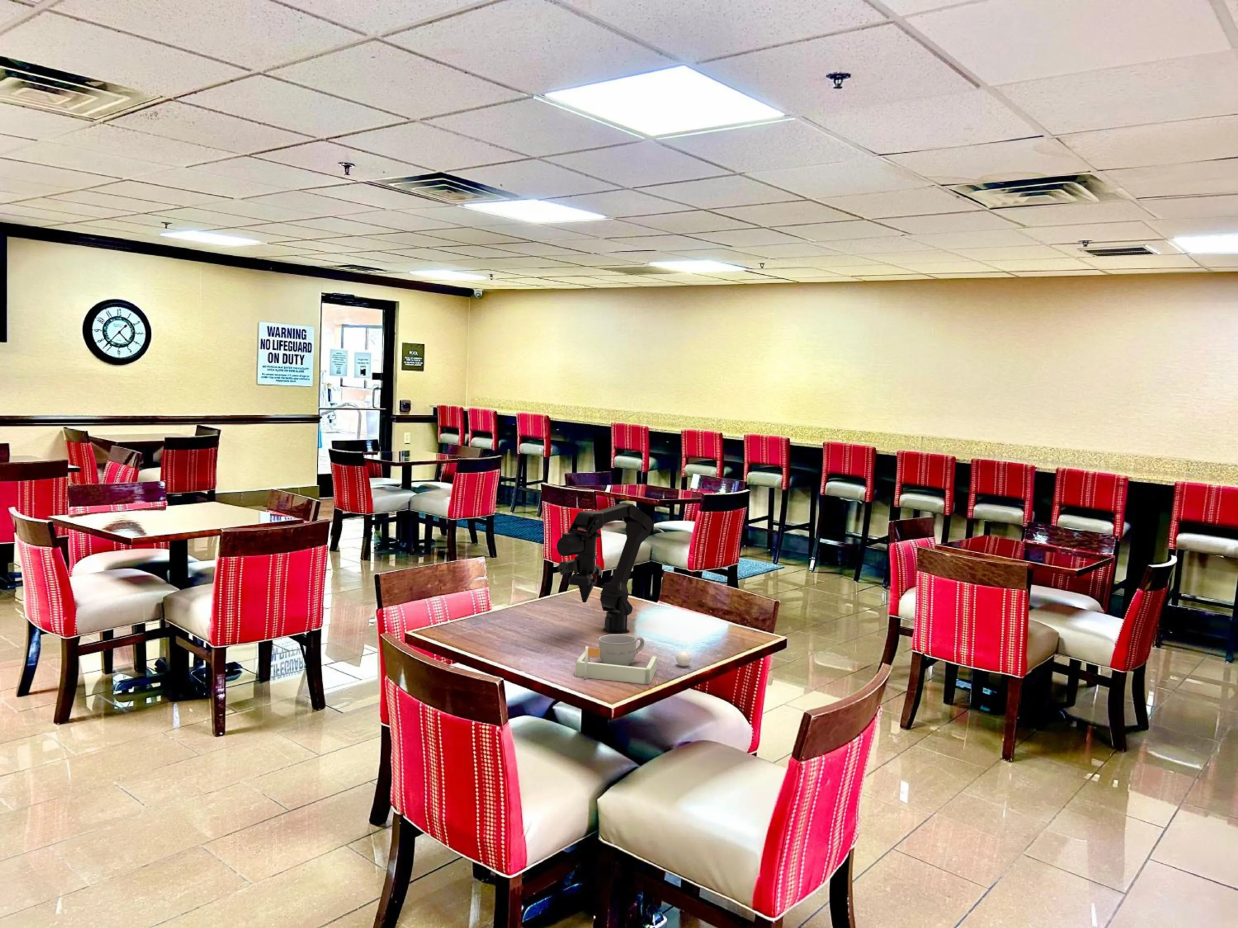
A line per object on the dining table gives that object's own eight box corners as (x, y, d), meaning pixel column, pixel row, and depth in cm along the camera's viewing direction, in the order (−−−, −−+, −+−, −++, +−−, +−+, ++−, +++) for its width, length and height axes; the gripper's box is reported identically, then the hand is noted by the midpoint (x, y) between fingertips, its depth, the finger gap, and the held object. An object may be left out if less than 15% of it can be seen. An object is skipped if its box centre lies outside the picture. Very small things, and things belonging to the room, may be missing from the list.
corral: (585, 662, 250) (587, 631, 249) (656, 670, 246) (657, 638, 245) (573, 678, 237) (575, 645, 236) (648, 686, 233) (649, 653, 232)
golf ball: (684, 662, 254) (685, 648, 253) (693, 666, 250) (694, 652, 250) (672, 664, 252) (673, 650, 251) (681, 669, 248) (682, 654, 248)
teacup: (603, 672, 243) (604, 644, 242) (593, 660, 253) (594, 632, 252) (651, 669, 247) (652, 641, 246) (638, 657, 257) (639, 630, 256)
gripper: (568, 545, 280) (566, 593, 281) (552, 555, 262) (551, 607, 263) (602, 548, 278) (600, 596, 279) (589, 559, 260) (587, 610, 261)
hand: (584, 602), depth 271 cm, fingers closed
